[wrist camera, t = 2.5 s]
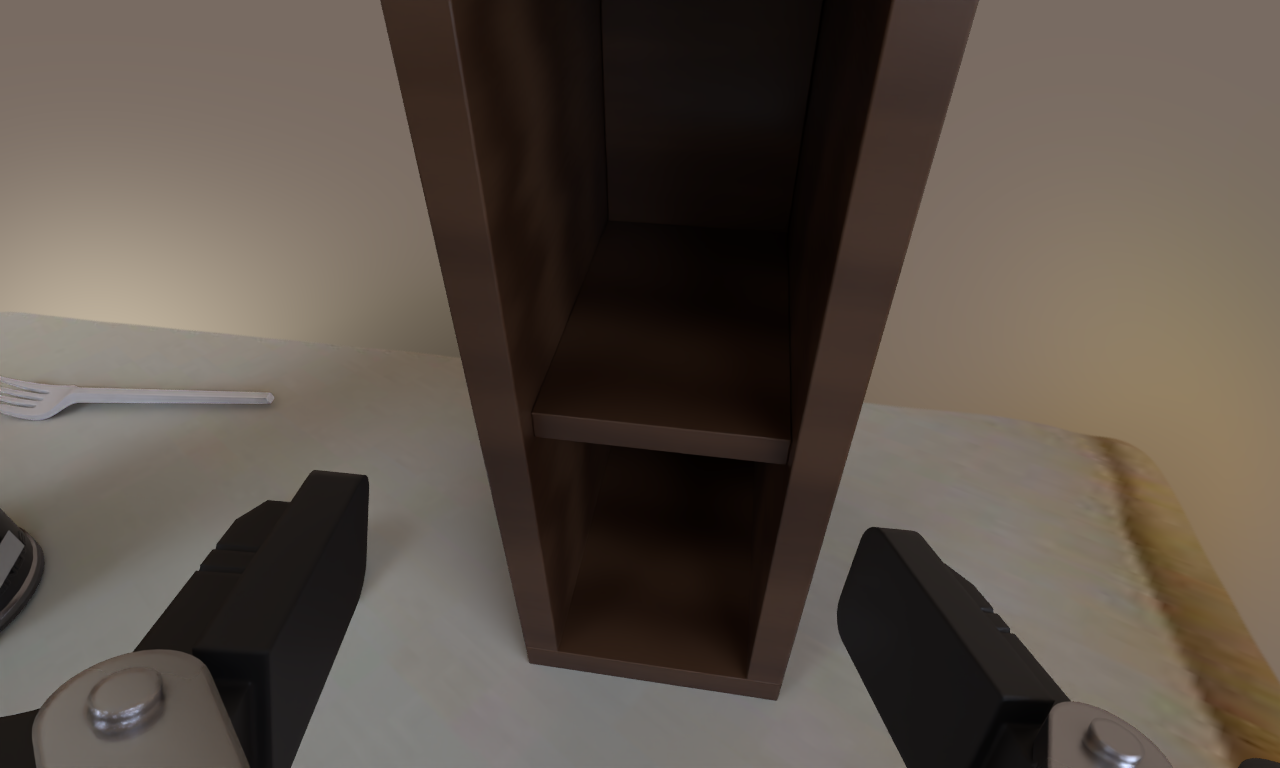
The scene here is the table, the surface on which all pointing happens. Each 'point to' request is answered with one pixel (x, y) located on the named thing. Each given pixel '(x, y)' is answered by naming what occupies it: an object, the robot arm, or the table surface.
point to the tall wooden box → (671, 294)
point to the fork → (107, 397)
